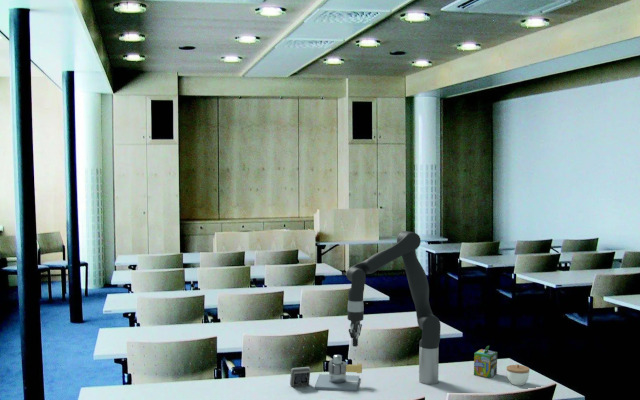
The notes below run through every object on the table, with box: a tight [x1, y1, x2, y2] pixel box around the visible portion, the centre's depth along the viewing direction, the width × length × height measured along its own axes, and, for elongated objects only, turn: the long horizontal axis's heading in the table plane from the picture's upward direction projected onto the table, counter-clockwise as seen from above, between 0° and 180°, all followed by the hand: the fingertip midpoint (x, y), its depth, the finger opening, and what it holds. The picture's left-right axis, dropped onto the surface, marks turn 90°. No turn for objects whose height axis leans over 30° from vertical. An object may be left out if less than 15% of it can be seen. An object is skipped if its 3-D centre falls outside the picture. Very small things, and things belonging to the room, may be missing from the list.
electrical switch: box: [289, 366, 311, 388], centre depth 343 cm, size 9×5×9 cm, turn 107°
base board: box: [314, 358, 360, 392], centre depth 347 cm, size 20×20×10 cm
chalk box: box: [473, 345, 498, 379], centre depth 362 cm, size 9×9×15 cm
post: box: [328, 354, 347, 384], centre depth 347 cm, size 8×8×12 cm
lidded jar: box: [506, 364, 530, 387], centre depth 348 cm, size 11×11×9 cm
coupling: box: [328, 361, 363, 374], centre depth 346 cm, size 16×8×4 cm, turn 83°
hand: (355, 346), depth 338 cm, fingers closed
